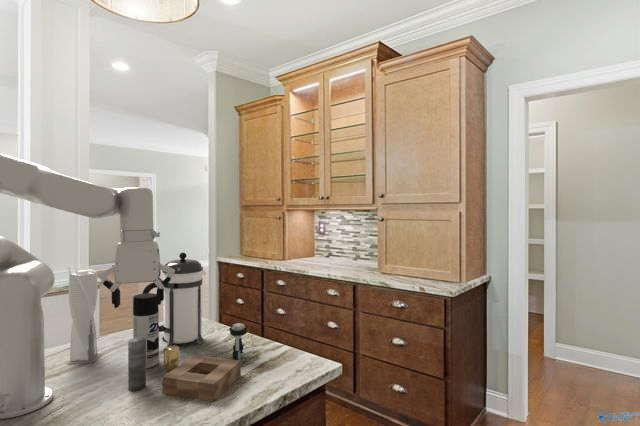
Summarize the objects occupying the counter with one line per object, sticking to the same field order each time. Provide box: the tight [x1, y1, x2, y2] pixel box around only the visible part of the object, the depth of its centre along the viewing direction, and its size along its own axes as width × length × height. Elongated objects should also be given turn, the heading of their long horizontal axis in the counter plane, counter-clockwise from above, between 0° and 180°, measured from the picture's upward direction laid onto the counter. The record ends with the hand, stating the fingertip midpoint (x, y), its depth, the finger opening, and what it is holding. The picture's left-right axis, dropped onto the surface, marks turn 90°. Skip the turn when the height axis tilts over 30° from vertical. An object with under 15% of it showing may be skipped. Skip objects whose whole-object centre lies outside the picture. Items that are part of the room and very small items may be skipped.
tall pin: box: [127, 337, 147, 392], centre depth 96 cm, size 4×4×12 cm
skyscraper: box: [66, 265, 104, 365], centre depth 113 cm, size 8×8×28 cm
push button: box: [228, 322, 248, 361], centre depth 115 cm, size 7×5×10 cm
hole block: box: [161, 354, 242, 402], centre depth 98 cm, size 14×14×4 cm
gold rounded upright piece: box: [163, 345, 180, 374], centre depth 106 cm, size 4×4×6 cm
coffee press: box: [141, 252, 207, 347], centre depth 125 cm, size 17×16×30 cm
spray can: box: [132, 292, 160, 370], centre depth 109 cm, size 7×7×20 cm
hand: (138, 305), depth 95 cm, fingers open, 9 cm apart
